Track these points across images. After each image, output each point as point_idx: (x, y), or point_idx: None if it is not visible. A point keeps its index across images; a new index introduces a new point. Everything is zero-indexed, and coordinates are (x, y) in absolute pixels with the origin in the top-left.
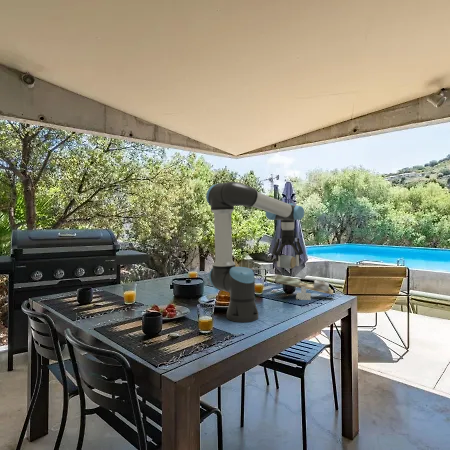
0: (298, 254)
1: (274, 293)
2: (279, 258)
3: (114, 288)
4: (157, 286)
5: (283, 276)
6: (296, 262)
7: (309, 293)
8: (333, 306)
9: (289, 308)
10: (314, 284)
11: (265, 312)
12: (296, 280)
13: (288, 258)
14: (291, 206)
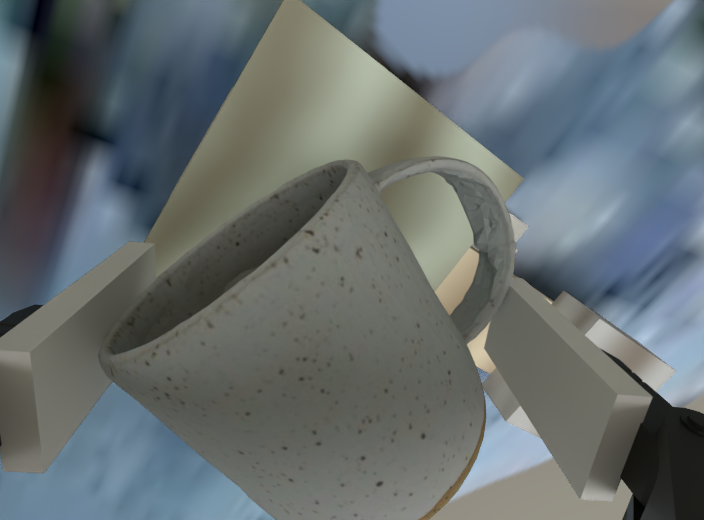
0: (630, 503)
1: (259, 36)
2: (66, 425)
3: None
4: None
5: (344, 79)
6: (517, 334)
7: (513, 230)
8: (458, 493)
9: (187, 459)
10: (499, 409)
11: (10, 485)
12: (431, 239)
13: (269, 513)
14: None
